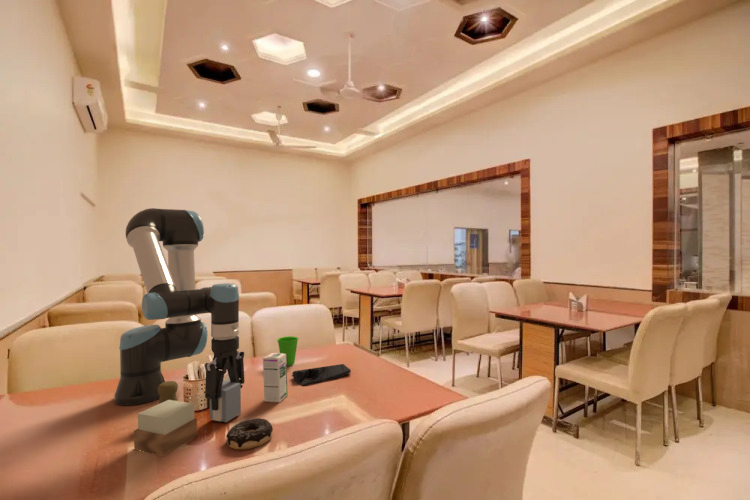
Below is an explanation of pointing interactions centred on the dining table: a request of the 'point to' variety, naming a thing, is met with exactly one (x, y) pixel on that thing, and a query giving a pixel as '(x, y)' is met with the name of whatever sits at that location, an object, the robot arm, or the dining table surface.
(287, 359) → the cup
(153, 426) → the tower top
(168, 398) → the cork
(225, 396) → the gray block
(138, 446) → the tower base
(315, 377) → the dark slate chunk
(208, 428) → the dining table surface
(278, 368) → the syrup box
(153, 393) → the robot arm
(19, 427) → the dining table surface
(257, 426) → the donut
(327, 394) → the dining table surface
